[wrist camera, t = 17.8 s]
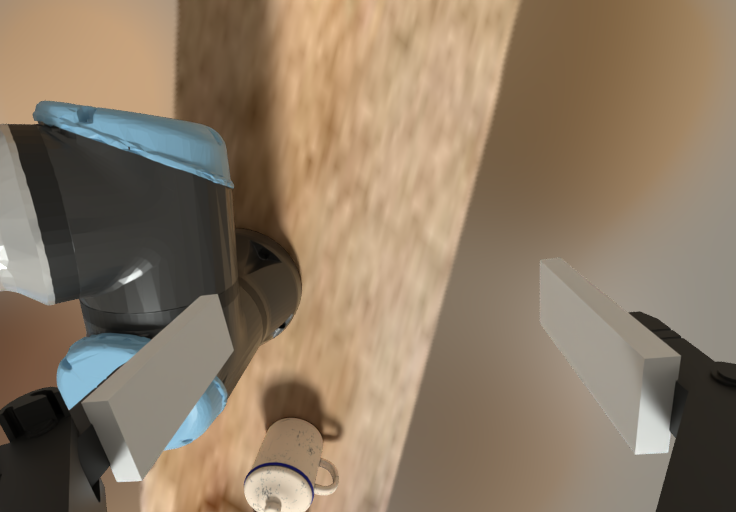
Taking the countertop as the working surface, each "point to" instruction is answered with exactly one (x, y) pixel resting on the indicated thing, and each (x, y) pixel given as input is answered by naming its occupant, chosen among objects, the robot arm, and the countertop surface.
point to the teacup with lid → (288, 468)
